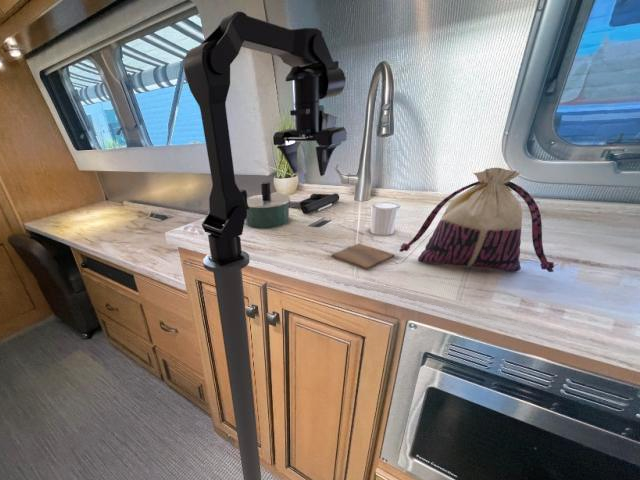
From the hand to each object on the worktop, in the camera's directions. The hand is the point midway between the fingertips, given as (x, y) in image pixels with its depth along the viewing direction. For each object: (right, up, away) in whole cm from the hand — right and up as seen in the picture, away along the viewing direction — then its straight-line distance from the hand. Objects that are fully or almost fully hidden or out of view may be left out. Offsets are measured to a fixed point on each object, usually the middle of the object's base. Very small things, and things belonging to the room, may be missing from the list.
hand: (308, 174), depth 79 cm
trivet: (+11, -22, -8) cm, 26 cm away
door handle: (+7, +1, +32) cm, 33 cm away
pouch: (+28, -26, -16) cm, 42 cm away
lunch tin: (-9, -7, +21) cm, 23 cm away
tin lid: (-9, -2, +17) cm, 20 cm away
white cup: (+21, -14, +4) cm, 25 cm away
